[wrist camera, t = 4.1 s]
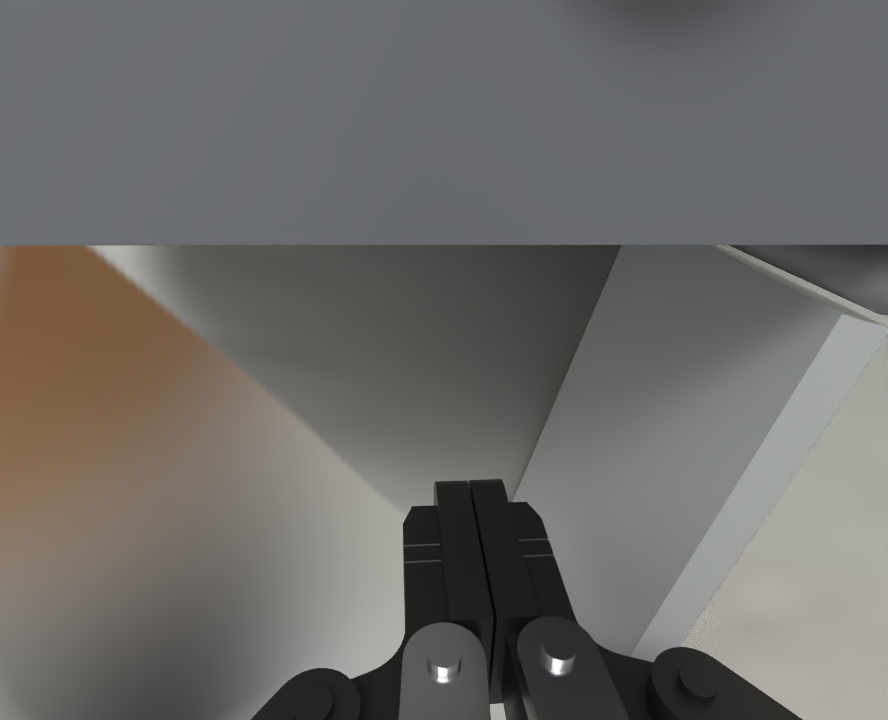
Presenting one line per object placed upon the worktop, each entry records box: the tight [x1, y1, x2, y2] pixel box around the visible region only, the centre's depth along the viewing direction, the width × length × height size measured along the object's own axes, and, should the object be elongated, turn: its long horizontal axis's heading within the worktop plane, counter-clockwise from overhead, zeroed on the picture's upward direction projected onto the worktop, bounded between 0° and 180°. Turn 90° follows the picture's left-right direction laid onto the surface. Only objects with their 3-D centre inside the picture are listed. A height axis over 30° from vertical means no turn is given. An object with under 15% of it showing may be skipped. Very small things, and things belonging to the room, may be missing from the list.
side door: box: [512, 245, 888, 662], centre depth 13 cm, size 1×12×7 cm, turn 163°
